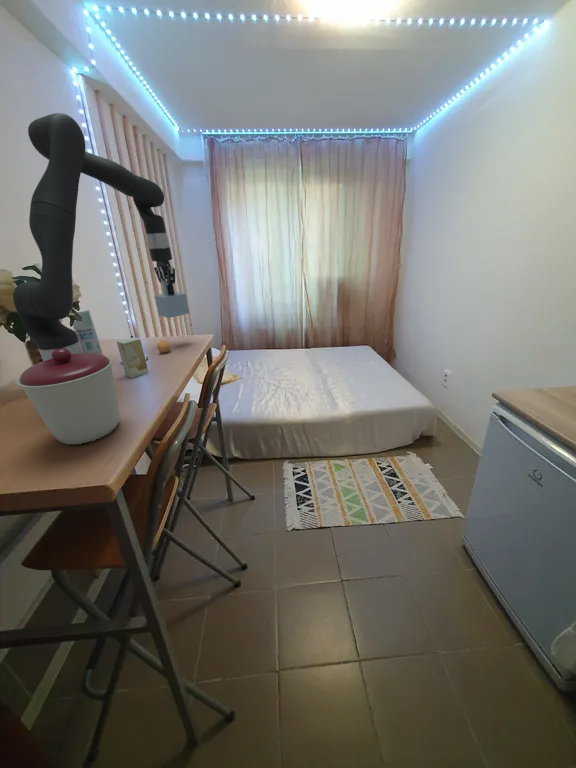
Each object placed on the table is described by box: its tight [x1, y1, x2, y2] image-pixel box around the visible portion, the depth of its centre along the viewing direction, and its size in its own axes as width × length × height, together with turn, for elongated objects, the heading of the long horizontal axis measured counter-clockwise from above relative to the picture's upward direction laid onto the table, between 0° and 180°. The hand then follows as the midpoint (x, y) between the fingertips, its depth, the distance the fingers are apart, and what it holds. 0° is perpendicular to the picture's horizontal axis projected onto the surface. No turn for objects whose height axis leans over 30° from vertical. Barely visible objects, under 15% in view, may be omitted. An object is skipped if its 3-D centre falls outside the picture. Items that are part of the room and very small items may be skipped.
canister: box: [14, 348, 120, 445], centre depth 72 cm, size 18×18×21 cm
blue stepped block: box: [153, 280, 190, 319], centre depth 126 cm, size 9×9×13 cm
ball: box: [156, 339, 171, 354], centre depth 127 cm, size 5×5×5 cm
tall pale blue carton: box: [72, 308, 104, 355], centre depth 118 cm, size 6×6×20 cm
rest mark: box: [120, 355, 149, 366], centre depth 121 cm, size 10×10×1 cm
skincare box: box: [116, 336, 149, 379], centre depth 106 cm, size 6×4×12 cm
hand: (169, 293), depth 125 cm, fingers closed on blue stepped block, 3 cm apart
